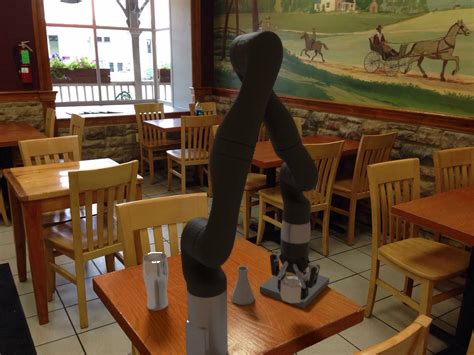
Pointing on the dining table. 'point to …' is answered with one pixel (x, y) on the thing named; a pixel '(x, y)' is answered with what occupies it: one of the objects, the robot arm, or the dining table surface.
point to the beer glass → (156, 280)
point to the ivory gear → (291, 289)
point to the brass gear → (289, 274)
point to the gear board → (322, 282)
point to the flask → (242, 288)
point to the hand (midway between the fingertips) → (292, 294)
